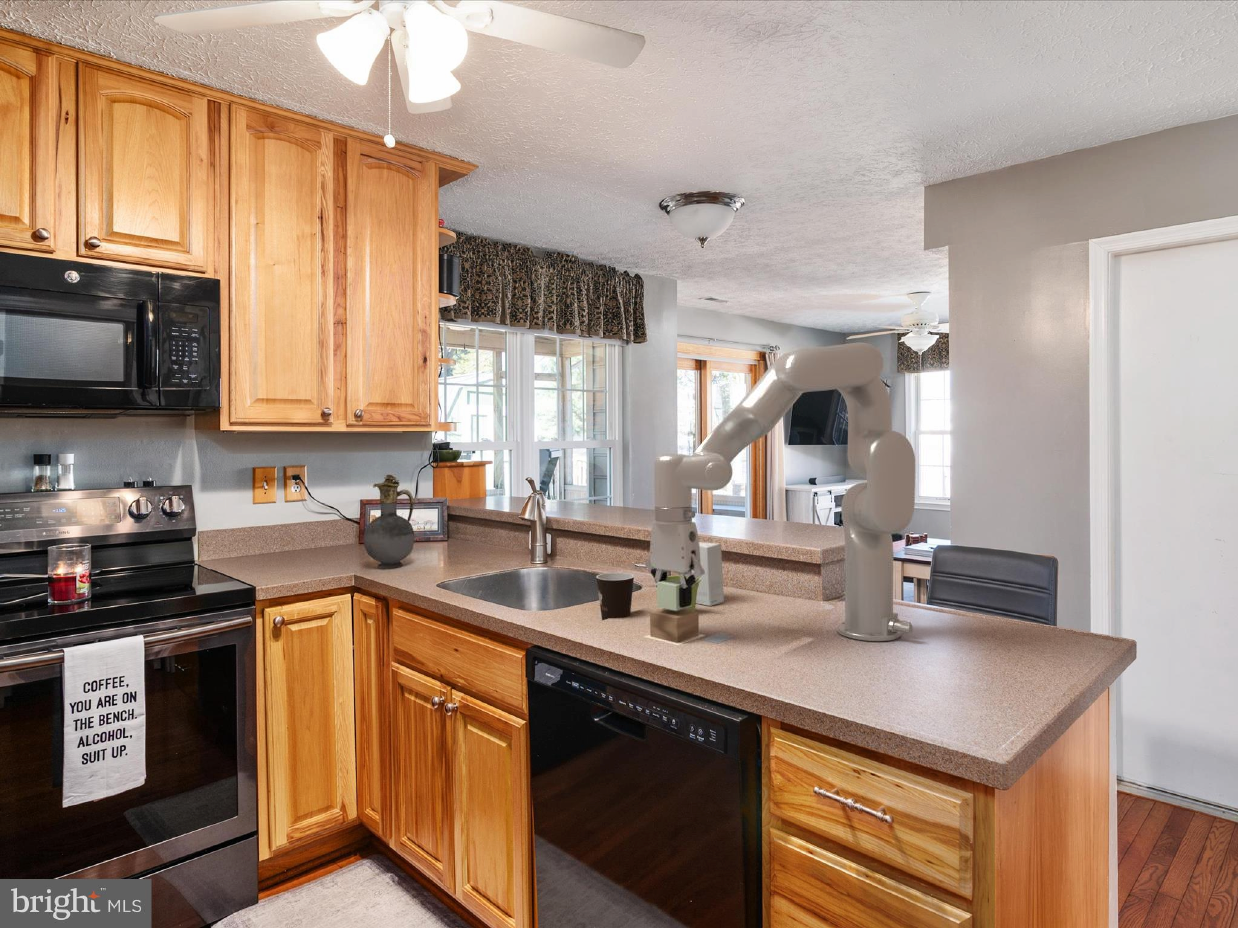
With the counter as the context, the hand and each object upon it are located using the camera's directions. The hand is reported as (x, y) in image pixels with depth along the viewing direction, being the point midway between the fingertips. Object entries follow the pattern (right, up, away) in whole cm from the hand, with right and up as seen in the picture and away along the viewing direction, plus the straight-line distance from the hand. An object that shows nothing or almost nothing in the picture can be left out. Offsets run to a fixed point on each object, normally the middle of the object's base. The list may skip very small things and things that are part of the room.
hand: (674, 603), depth 148 cm
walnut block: (0, -7, 0) cm, 7 cm away
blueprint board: (+1, -8, 0) cm, 8 cm away
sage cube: (0, -1, 0) cm, 1 cm away
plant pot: (+3, -7, +21) cm, 22 cm away
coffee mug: (-12, -7, +20) cm, 24 cm away
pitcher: (-85, -5, +90) cm, 124 cm away
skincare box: (+10, -6, +34) cm, 36 cm away
